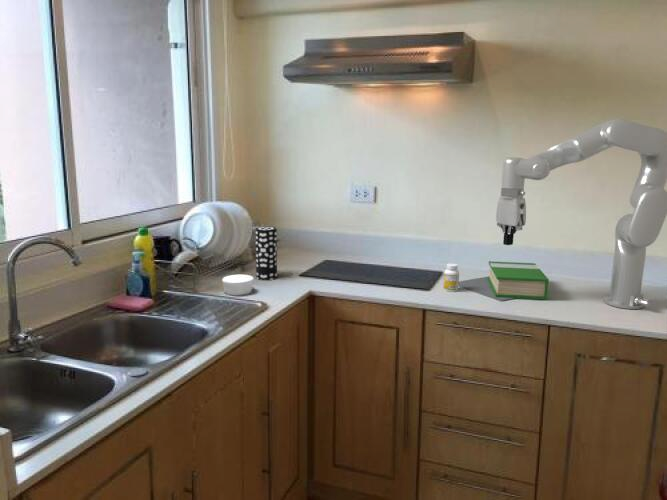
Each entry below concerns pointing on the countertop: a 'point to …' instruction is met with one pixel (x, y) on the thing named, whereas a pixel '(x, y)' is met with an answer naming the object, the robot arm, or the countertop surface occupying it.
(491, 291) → the mat
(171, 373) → the countertop surface
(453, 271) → the supplement bottle
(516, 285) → the hardback book
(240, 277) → the ramekin
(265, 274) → the spotted tube
